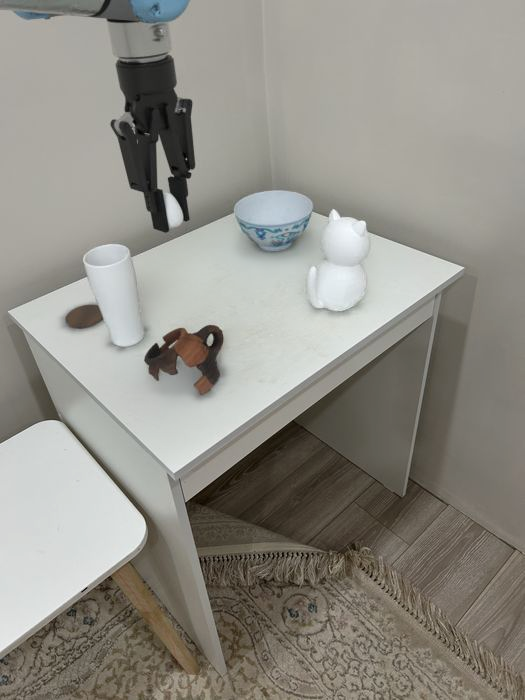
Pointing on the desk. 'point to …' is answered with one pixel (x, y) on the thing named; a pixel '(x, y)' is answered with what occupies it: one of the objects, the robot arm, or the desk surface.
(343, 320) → the desk surface
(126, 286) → the drinking glass
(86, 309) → the coaster
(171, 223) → the egg
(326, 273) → the cat figurine
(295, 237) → the chinaware
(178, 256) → the desk surface
